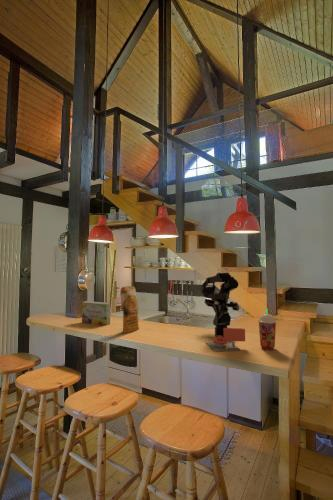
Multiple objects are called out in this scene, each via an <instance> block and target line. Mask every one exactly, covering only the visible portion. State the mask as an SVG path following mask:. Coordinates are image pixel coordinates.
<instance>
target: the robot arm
mask: <svg viewBox="0 0 333 500" xmlns="http://www.w3.org/2000/svg"><path fill="white" fill-rule="evenodd" d="M215 283H221V285H220V288H219V291H218V292H216V291H215V290H216V285H215ZM209 284H212V285H209ZM238 287H239V282H238V280H237V279H236V278H235V277H234V276H232V275H231V274H230V272H224V271H223V272H219V271H218V272H217V273H216V274H215V275H213V276H210V277H209V276H208V277H206V279H205V280H204V282H203V283H202V285H201V287H200V293H201V294H202V295H203V297H205V299H204V305H206V306H207V307H210V308H212V309H213V311H214V313H215V315H214V318H213V319H212V324H213V326H215V327H214V335H215V336H216V337H217V336H218V335H221V336H223V338H224V328H228V326H230V325H231V321H232V320H231V315H230V313H229V308H231V309H232V311H235V312H236V311H237V312H239V311H240V305H239V304H238V302H236V301H229V300H230V294H231V292H232V291H234V290H236V289H237V288H238ZM228 301H229V303H228Z"/></svg>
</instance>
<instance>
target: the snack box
mask: <svg viewBox="0 0 333 500" xmlns="http://www.w3.org/2000/svg"><path fill="white" fill-rule="evenodd" d="M81 323H82V324H83V323H84V324H90V325H91V324H92V325H99V326H108V325H110V324H111V302H101V301H89V300H88V301H87V300H85V301H82V302H81Z"/></svg>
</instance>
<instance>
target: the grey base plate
mask: <svg viewBox="0 0 333 500" xmlns="http://www.w3.org/2000/svg"><path fill="white" fill-rule="evenodd" d="M205 343H206V345H207V344H208V345H209V346H210V347H209V346H208V345H207V346H208V347H209V348H210V349H212V350H213V351H214V352H215V351H220V352H234V351H235V350H239V351H241V348H240V347H238V346H237V345H236V344H235V343H236V341H227V343H226V344H215V343H213V341H208V342H207V341H206V342H205ZM235 352H236V351H235Z"/></svg>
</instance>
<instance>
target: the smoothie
mask: <svg viewBox="0 0 333 500" xmlns="http://www.w3.org/2000/svg"><path fill="white" fill-rule="evenodd" d="M265 309H266V310H265V312H266V313H263V314H262V315H260V316H259V319H258V329H259V342H260V346H261V349H263V350H265V349H268V350H267V351H272V350H271V349H273V350H274V348H275V347H276V346H275V345H276V332H277V331H276V330H277V329H276V328H277V321H276V319H275V318H274V316H273V315H271V314H270V313H269V312H268V311H269V310H268V308H265Z"/></svg>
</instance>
